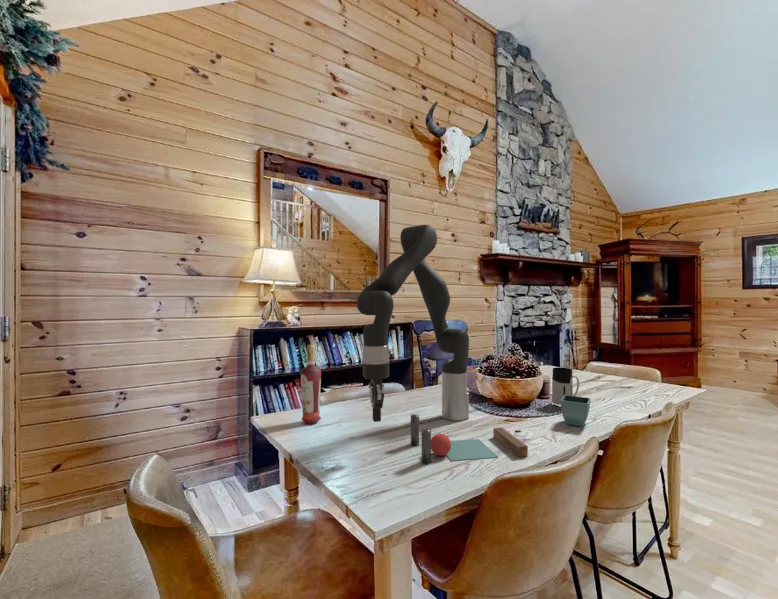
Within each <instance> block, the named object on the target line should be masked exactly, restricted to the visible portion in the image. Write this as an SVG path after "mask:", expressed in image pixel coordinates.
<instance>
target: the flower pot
mask: <svg viewBox="0 0 778 599" xmlns="http://www.w3.org/2000/svg"><path fill="white" fill-rule="evenodd" d="M561 407H562V408H561ZM561 407H560V408H561V414H562V418H563V420H564V422H565V423H566V424H567V425H571V426H575V427H584V425H585V424H586V421H587V418H588V416H589V412H590V408H591V398H590V397H583V396H577V395H576V396H570V395H564V396H563V398H562V399H561Z"/></svg>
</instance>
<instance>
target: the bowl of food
mask: <svg viewBox="0 0 778 599" xmlns="http://www.w3.org/2000/svg"><path fill="white" fill-rule="evenodd" d="M478 366H479V365H467V389H468V391H470V392H471V393H474V394H475V395H476V394H478V395H480V392H479V390H478V387H477V383H476V368H478ZM478 395H477V396H478Z"/></svg>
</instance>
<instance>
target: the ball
mask: <svg viewBox="0 0 778 599" xmlns="http://www.w3.org/2000/svg"><path fill="white" fill-rule="evenodd" d="M450 441H451V440H450V438H449V437H448V436H447V435H446V434H444V433H437V434H435V435H433V436H431V452H432V453H433V454H435V455H436V456H438V457H439V456H440V457H442V456H447V455H446V454H447V453H448V452H449V451H450V449H451V442H450Z"/></svg>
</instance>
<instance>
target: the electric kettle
mask: <svg viewBox="0 0 778 599" xmlns="http://www.w3.org/2000/svg"><path fill="white" fill-rule="evenodd" d="M573 378H575V379H576V383H577V384H576V390H575V393H574V394H573V392H574V391H573V390H574V389H573V387H574V385H573V383H574V382H573ZM551 380H552V381H551V383H552V385H551V388H552V389H551V390H552V392H551V402H553V403H556V404H561V399H562V398H563V396H564V395H570V396H577V394H578V393H579V392H578V391H579V389H580V380H579V378H578V376H577V375H573V369H572V368H568V367H558V366H557V367H553V368H552V377H551Z"/></svg>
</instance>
